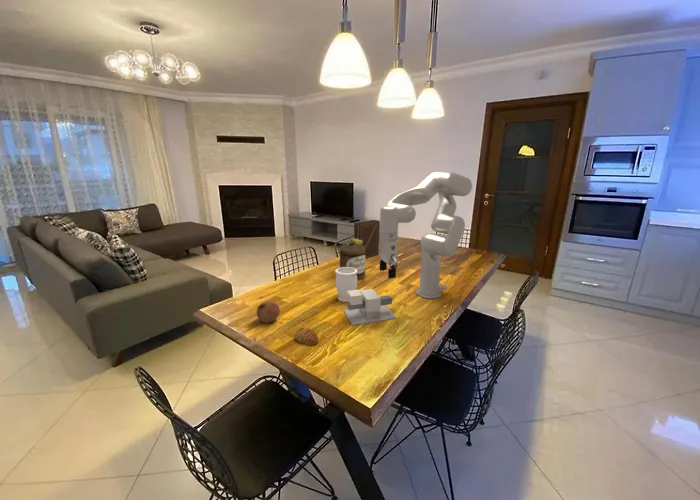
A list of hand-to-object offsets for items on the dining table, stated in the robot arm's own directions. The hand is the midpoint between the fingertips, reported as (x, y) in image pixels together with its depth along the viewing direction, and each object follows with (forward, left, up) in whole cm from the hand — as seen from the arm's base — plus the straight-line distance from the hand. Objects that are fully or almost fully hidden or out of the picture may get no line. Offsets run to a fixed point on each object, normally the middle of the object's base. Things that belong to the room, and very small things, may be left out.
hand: (387, 273), depth 133 cm
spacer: (+15, 0, -11) cm, 19 cm away
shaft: (+8, 0, -14) cm, 16 cm away
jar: (+13, -19, -19) cm, 29 cm away
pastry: (+38, +11, -19) cm, 44 cm away
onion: (+51, -8, -19) cm, 55 cm away
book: (-19, -81, -19) cm, 85 cm away
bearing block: (+8, 0, -18) cm, 20 cm away
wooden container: (+1, -47, -19) cm, 50 cm away
